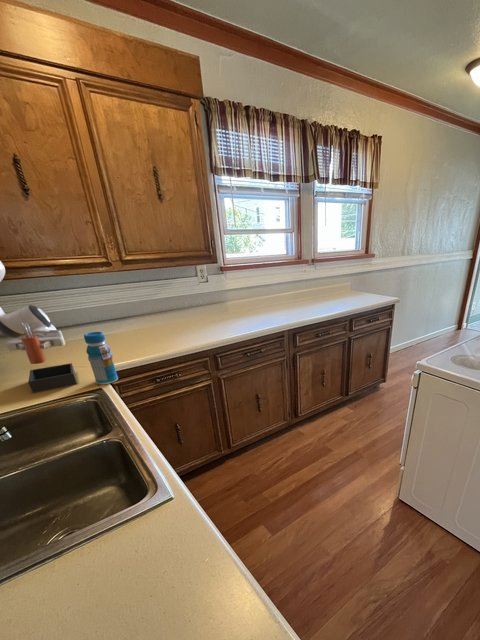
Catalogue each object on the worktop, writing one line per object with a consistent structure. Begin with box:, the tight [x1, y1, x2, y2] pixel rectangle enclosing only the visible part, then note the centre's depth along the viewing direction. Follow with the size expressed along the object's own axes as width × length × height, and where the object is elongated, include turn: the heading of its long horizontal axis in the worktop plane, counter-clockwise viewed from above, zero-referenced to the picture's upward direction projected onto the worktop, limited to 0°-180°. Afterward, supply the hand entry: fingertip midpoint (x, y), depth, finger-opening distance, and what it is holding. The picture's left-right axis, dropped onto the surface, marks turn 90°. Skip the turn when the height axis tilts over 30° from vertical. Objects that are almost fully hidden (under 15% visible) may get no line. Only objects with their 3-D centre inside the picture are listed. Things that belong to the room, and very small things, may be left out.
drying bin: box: [27, 362, 78, 393], centre depth 133 cm, size 15×15×5 cm
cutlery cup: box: [20, 323, 47, 365], centre depth 135 cm, size 6×6×17 cm
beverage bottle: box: [83, 331, 119, 385], centre depth 131 cm, size 8×8×20 cm
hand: (32, 347), depth 136 cm, fingers closed on cutlery cup, 5 cm apart
